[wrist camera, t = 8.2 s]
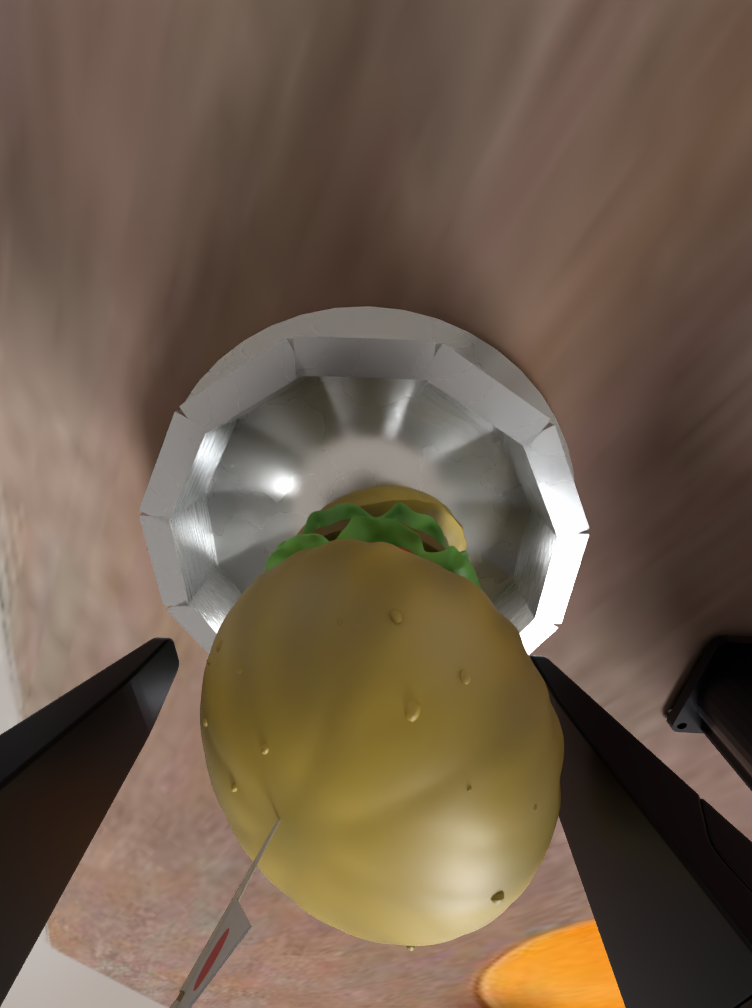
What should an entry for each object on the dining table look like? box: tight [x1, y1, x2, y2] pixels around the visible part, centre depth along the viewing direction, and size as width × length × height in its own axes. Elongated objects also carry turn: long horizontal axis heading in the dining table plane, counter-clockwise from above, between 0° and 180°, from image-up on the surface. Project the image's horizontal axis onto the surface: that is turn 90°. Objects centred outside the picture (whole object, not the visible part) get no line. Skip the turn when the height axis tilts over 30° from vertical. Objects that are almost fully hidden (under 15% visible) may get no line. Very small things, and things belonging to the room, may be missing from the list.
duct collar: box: [139, 306, 589, 655], centre depth 14 cm, size 17×17×3 cm
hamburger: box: [170, 486, 564, 1008], centre depth 9 cm, size 8×7×12 cm
